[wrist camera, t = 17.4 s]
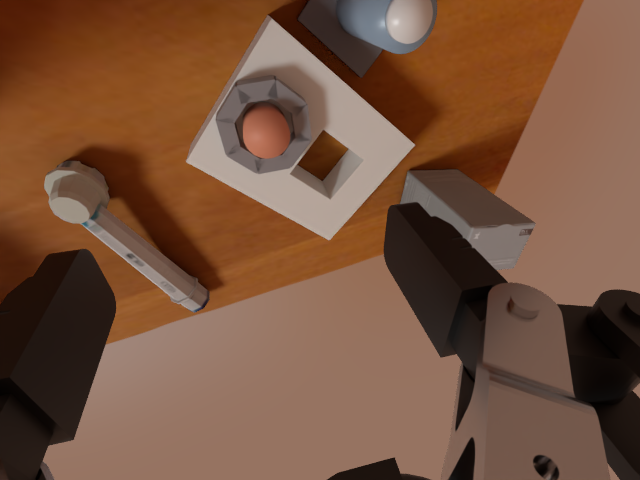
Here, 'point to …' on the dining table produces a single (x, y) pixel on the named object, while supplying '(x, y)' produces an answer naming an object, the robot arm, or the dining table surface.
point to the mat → (338, 36)
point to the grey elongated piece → (117, 231)
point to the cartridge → (388, 22)
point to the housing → (297, 135)
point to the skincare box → (471, 213)
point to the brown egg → (265, 130)
